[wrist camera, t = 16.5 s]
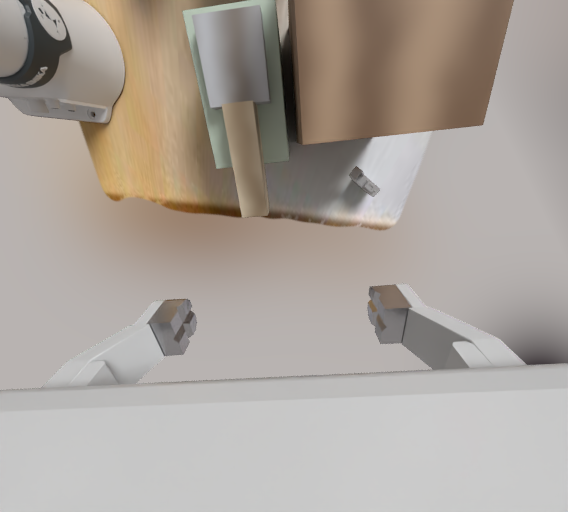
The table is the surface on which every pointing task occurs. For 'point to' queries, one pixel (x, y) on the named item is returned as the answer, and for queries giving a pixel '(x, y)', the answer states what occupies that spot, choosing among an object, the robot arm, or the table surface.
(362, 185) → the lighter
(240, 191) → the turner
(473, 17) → the walnut box
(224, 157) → the sage block
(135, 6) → the table surface
